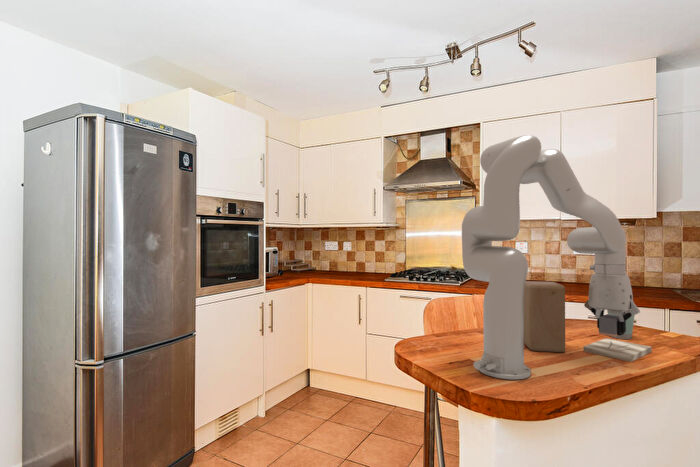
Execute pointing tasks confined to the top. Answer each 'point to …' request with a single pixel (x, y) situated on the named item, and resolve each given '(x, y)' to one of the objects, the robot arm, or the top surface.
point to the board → (618, 349)
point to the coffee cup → (628, 325)
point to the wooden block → (544, 316)
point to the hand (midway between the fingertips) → (611, 332)
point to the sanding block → (608, 325)
